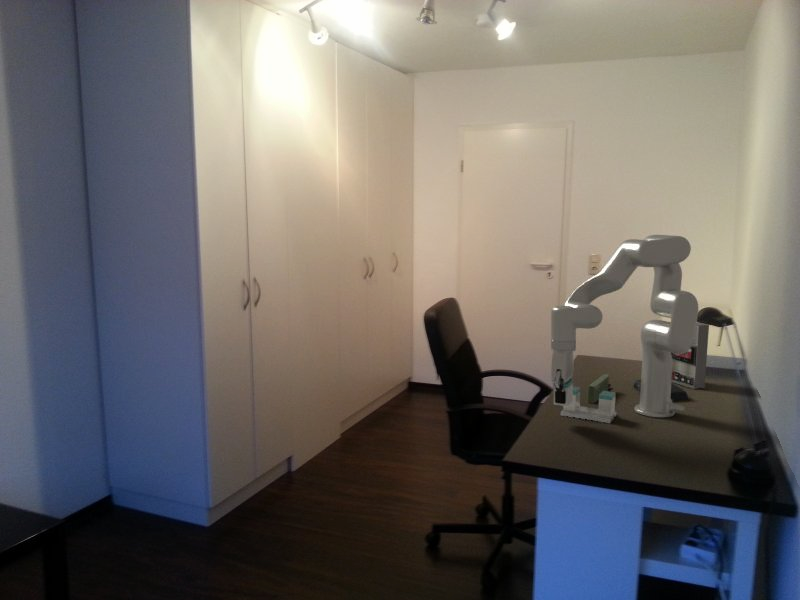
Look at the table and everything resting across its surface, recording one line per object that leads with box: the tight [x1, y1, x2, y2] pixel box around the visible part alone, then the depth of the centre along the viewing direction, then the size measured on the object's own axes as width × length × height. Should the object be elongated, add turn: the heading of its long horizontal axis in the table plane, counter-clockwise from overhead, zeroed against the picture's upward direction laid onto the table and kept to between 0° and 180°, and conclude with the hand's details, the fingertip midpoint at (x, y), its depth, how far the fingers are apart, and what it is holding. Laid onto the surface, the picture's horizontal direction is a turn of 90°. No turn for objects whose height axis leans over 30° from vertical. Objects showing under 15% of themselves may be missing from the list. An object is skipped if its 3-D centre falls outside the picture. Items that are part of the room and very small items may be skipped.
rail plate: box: [560, 386, 617, 424], centre depth 213 cm, size 16×10×8 cm, turn 60°
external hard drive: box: [632, 379, 690, 402], centre depth 240 cm, size 13×19×4 cm
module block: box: [553, 378, 574, 407], centre depth 204 cm, size 4×6×7 cm
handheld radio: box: [586, 373, 612, 405], centre depth 237 cm, size 7×3×25 cm
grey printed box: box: [671, 321, 710, 390], centre depth 252 cm, size 14×6×25 cm, turn 23°
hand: (563, 399), depth 204 cm, fingers closed on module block, 6 cm apart
